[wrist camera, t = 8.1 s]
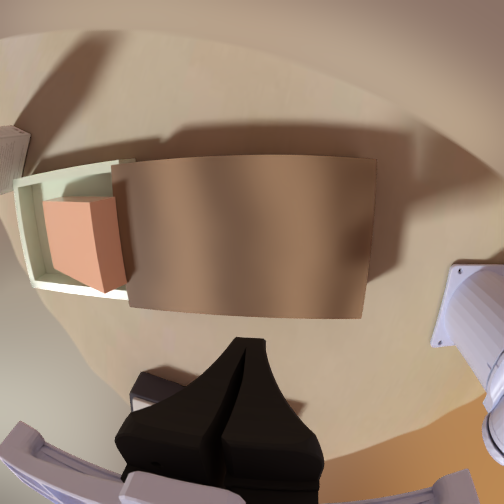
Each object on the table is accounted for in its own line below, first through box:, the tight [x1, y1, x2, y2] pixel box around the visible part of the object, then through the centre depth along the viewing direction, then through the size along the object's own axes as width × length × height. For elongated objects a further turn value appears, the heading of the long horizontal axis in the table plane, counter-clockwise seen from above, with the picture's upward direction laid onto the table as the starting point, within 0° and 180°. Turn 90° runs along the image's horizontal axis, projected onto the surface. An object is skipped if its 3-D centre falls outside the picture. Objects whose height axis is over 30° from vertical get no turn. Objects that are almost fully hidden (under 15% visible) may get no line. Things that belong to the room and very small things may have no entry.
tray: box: [13, 158, 136, 300], centre depth 22 cm, size 13×11×2 cm
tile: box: [42, 196, 127, 294], centre depth 20 cm, size 9×6×2 cm, turn 92°
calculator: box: [130, 372, 185, 412], centre depth 28 cm, size 11×4×15 cm
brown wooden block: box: [111, 155, 377, 319], centre depth 19 cm, size 16×10×4 cm, turn 91°
